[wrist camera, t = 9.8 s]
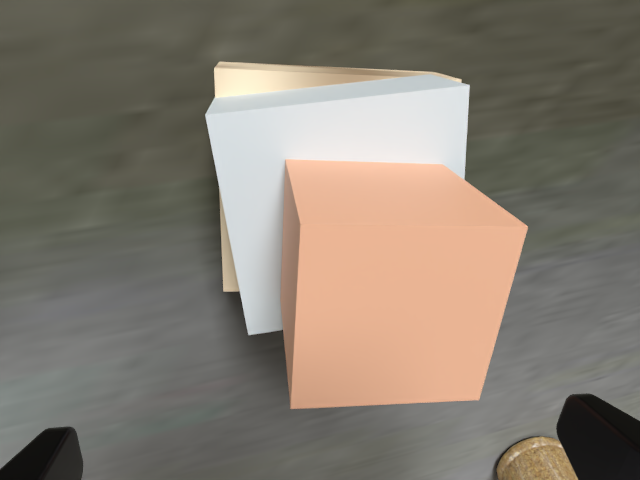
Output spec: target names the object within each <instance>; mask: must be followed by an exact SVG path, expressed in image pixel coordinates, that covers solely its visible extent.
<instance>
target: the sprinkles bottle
mask: <svg viewBox="0 0 640 480" xmlns="http://www.w3.org/2000/svg"><path fill="white" fill-rule="evenodd" d="M497 474H498V479H499V480H578V478H577V476H576V474H575V472H574V470H573V468H572V466H571V464H570V462H569V459H568V457H567V455H566V453H565V451H564V449H563V447H562V445H561V443H560V441H558V440H556V439H554V438H548V437H542V436H541V437H534V438H529V439H526V440H523V441H521V442H519V443H517V444H516V445H514V446H512V447H511V448H510V449H509V450H508V451H507V452H506V453H505V454H504V455H503V456H502V458H501V460H500V462H499V464H498V467H497Z"/></svg>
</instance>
